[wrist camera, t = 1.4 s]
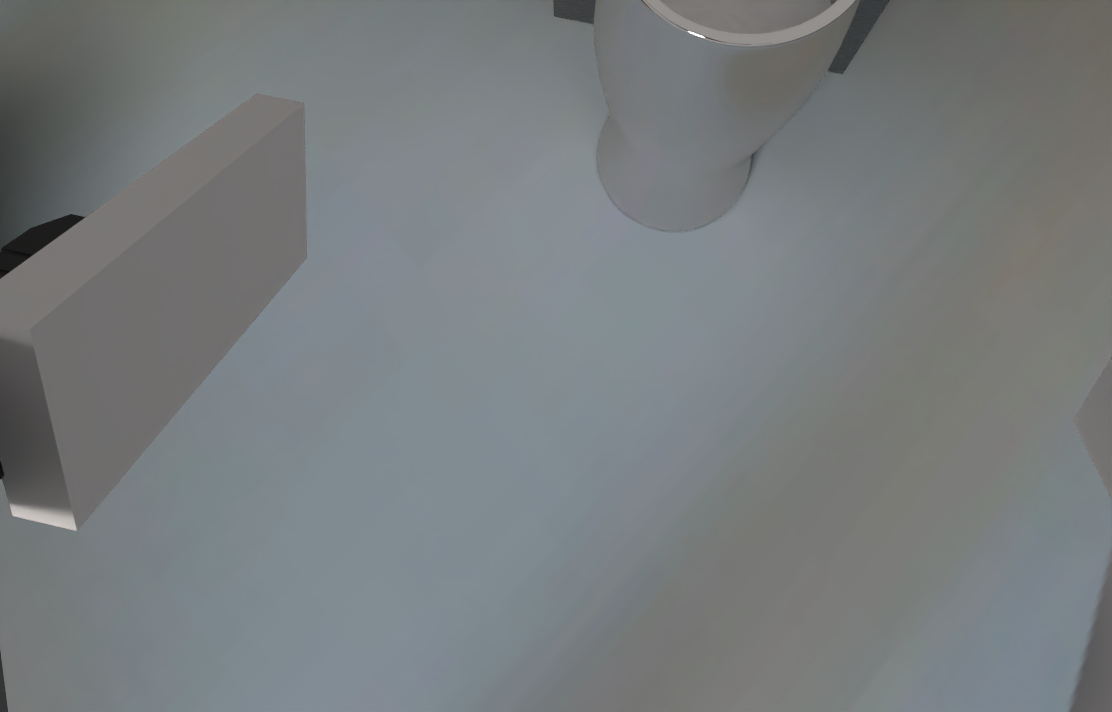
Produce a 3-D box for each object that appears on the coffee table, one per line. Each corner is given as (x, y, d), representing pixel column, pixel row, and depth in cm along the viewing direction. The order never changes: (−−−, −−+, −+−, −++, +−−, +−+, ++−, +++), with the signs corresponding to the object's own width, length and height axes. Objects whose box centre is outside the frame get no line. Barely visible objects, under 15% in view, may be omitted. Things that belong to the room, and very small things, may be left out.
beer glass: (704, 275, 35) (804, 107, 20) (552, 187, 36) (543, -38, 21) (791, 132, 36) (947, -128, 21) (642, 48, 37) (693, -261, 22)
